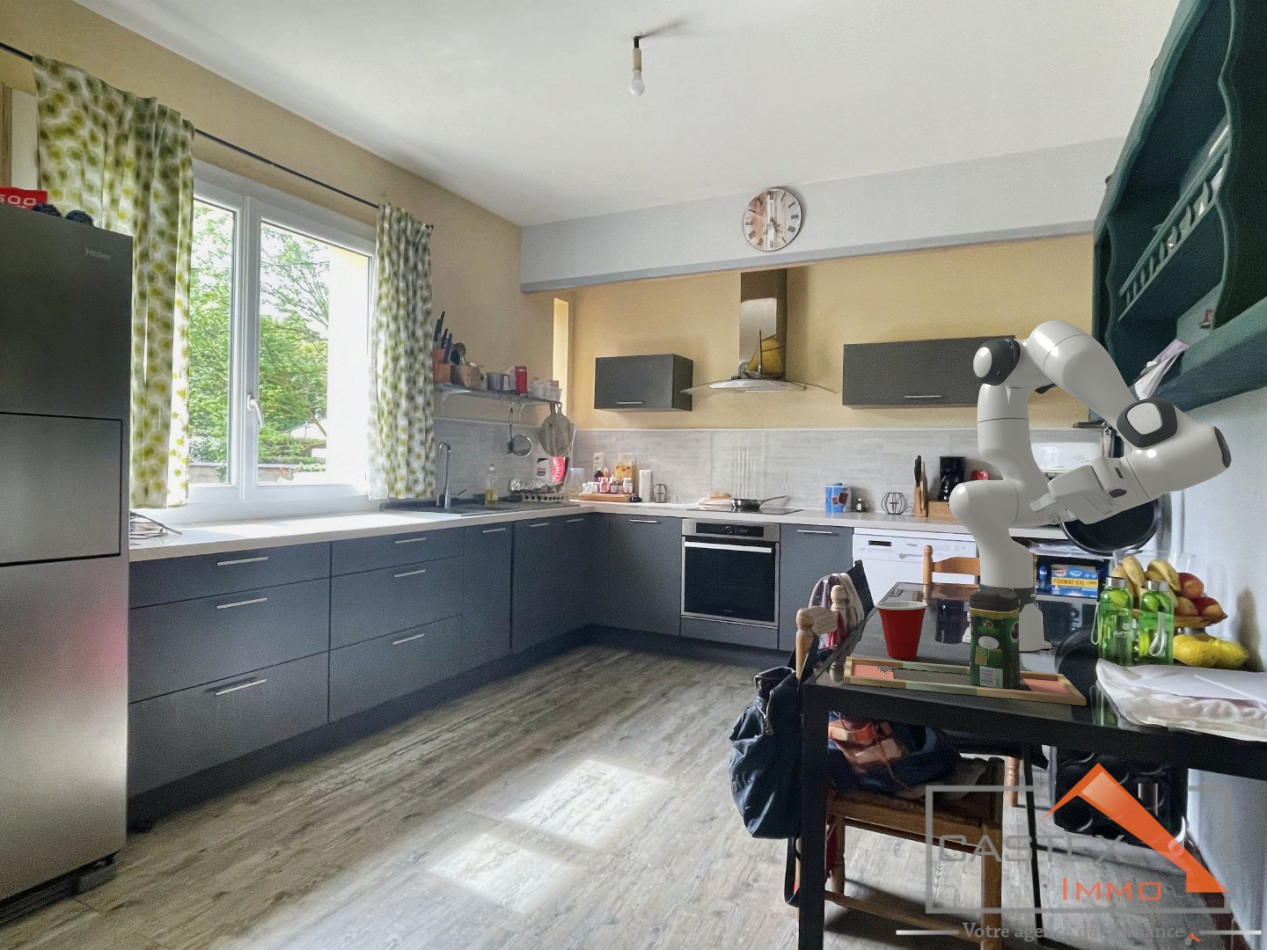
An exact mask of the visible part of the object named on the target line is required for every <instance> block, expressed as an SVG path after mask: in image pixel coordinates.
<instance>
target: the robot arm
mask: <svg viewBox="0 0 1267 950" xmlns="http://www.w3.org/2000/svg"><path fill="white" fill-rule="evenodd" d="M971 364H972V365H971V366H972V373H973V375H974V378H976V380H977V381H978V382H980V383H982V384H981V387H980V388H979V393H978V397H977V398H978V400H977V407H976V409H977V410H976V428H977V429H976V430H977V431H976V432H977V449H978V450H977V451H978V454H979V456H980V458H981V459H982V460H983V461H984V462H986V463H987V464H989V465H992V466H994V467H995V468H996V469H997V470H998V471H999V473H1000V474H1001V477H1002V479H998V480H997V479H976V480H971V481H966V482H961V483H958V484H957V485H955V486H954V488H953V489H952V491H951V492H950V495H949V497H948V498H949V499H948V507H949V511H950V513H951V515H952V517H953V518H954V519H955V520H956V522H958V523H959V524H960V525H962V526H963V527H965V529H967V531H968V532H969V533H970V535H971V536H972V538H973V540H974V542H975V544H976V547H977V549H978V557H979V569H980V572H979V573H980V582H979V583H978V585H977V586H978V587H977V591H981V590H984V589H988V588H989V587H1000V588H1009V589H1012V591H1014V592H1015V593H1016V594H1017V595H1018V596H1019V652H1035V651H1039V650H1044V649H1052V643H1051V642H1049V641H1047V640H1045V637H1044V620H1043V619H1044V617H1043V612H1042V611H1041V610H1040V609H1039V608H1038V607H1037V606H1036V604H1035V602H1036V596H1037V594H1036V587H1035V586H1034V557H1033V555H1032V553H1031V551H1030V550H1029V549H1028V548H1027V547H1026V546H1025V545H1023V544H1021V543H1020V542H1017V541H1015V540H1013V538H1012V536H1011V534H1010V530H1009V527H1041V526H1047V525H1053V526H1054V525H1057V524H1060V523H1066V522H1073V521H1076V520H1079V521H1080V522H1082V523H1083V524H1084V525H1090V524H1095V523H1097V522H1100V521H1103V520H1106V519H1108V518H1110V517H1112V516H1114V515H1116V514H1119V513H1121V512H1123V511H1127V510H1130V509H1133V508H1135V507H1138V506H1141V505H1143V504H1146V503H1149V502H1152V501H1155V500H1156V499H1158V498H1159V497H1161V496H1163V495H1165V494H1167V493H1172V492H1179V491H1180V492H1181V491H1182V490H1183V491H1184V490H1186V489H1188V488H1191V487H1194V486H1196V485H1200V484H1202V483H1204V482H1207V481H1209V480H1211V479H1213V478H1215V477H1217V476H1219V475H1221V474H1222V473H1224V472H1225V471H1227V470H1228V469H1229V468H1230V466H1231V463H1232V455H1231V450H1230V449H1229V445H1228V444H1227V441H1226V438H1225V436H1224V434H1223V433H1222V432H1221V430H1220V429H1219V428H1218V427H1217V426H1215V425H1212V424H1206V423H1203V422H1201V421H1198V420H1197V419H1194V418H1192V417H1191V416H1189V415H1187V414H1186V413H1185V412H1183V411H1182V410H1181V409H1179V408H1178V407H1177V406H1176V405H1174V404H1173V402H1171V401H1169V400H1168V399H1165V398H1160V397H1148V398H1147V397H1146V398H1143V399H1142V398H1141V399H1139V400H1137V399H1136V398H1135V396H1134V395H1133V394H1132V392H1131V391H1130V389H1129V387H1128V385H1127V383H1126V382H1125V380H1124V378H1123V376H1122V374H1121V371H1119V369H1118V367H1117V365H1116V363H1115V362H1114V359H1113V358H1112V356H1111V355H1110V354H1109V352H1108V351H1107V350H1106V349H1105V348H1104V346H1102V344H1101V343H1100V342H1099V341H1098V340H1096V339H1095V338H1094V337H1092V336H1091V335H1090V334H1088V333H1087V332H1085V330H1083V329H1080V328H1079V327H1077V326H1076V325H1073V324H1071V323H1068V322H1065V321H1063V320H1059V319H1055V320H1047V321H1045V322H1043V323H1041V324H1039V325H1038V326H1036V327H1035V328H1034V329H1033V330H1032V331H1031V332H1030V335H1029V336H1028V338H1020V339H1019V338H1012V337H1009V338H997V339H992V340H988V341H985V342H983V343H982V344H980V345H979V347H978V348H977V349H976V351H975V352H974V354H973V357H972V363H971ZM1056 387H1059V388H1060V389H1061V390H1063V392H1066V393H1067V394H1068V395H1069V396H1071V397H1073V398H1074V399H1076V400H1077V401H1078V402H1080V403H1081V404H1083V405H1084V406H1085V407H1087V408H1088V409H1090V410H1091V411H1092V412H1094V413H1096V415H1098V416H1099V417H1101V418H1102V419H1103V420H1104V421H1105V422H1106V423H1107V424H1109V425H1110V427H1112V428H1113V429H1114V431H1116V432H1117V434H1118V435H1119V437H1120V438H1121V440H1122V441H1123V443H1124V445H1125V446H1126V447H1127V449H1128V450H1129V451H1130V453H1129V454H1126V455H1124V456H1121V457H1119V458H1118V457H1108V456H1103V455H1101V456H1097V457H1094V458H1092V459H1091V460H1089V463H1090V464H1084V465H1081V466H1078V467H1075V468H1073V469H1071V470H1069V471H1066V472H1063V473H1062V474H1060V475H1058V476H1055V477H1054V478H1052V479H1049V478H1048V477H1047V476H1046V475H1045V474H1044V473H1043V471H1042V470H1041V469H1040V467H1039V465H1038V463H1037V462H1036V459H1035V457H1034V454H1033V449H1032V444H1031V433H1030V432H1031V431H1030V418H1029V417H1030V416H1029V409H1028V407H1029V405H1028V403H1029V398H1030V396H1031V394H1032V393H1033V392H1035V393H1037V394H1038V395H1043V394H1045V393H1047V392H1048V391H1050V390H1051V389H1053V388H1056ZM966 617H967V620H966V621H967V622H969V624H968V627H967V628H966V629H965V632H964V634H963V636H962V640H961V641H962V642H963V643H967V644H971V622H970V611H967V615H966Z"/></svg>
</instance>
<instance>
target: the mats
mask: <svg viewBox="0 0 1267 950" xmlns="http://www.w3.org/2000/svg"><path fill="white" fill-rule="evenodd" d="M877 668H878V667H877V666H869V665H857V664H852V671H851V675H853V676H865V677H876V678H887V679H895V678H894V676H895V675H894V671H893V672H892V671H891V670H890V671H891V672H889V670H888V671H887V672H885V673H884V672H883V671H881V670H880V668H878V669H879V670H878V669H877ZM880 671H881V672H880ZM886 673H887V674H886ZM1022 681H1023V682H1024V681H1025V682H1024V683H1025V685H1027V687H1028V688H1029V689H1030V690H1029V691H1033V692H1044V693H1055V694H1066V695H1070V694H1069V693H1068V692H1067V691H1066V690H1065V689H1064V688H1063V687H1062V685H1061V684H1060V683H1059V682H1058V681H1047V680H1035V679H1024V678H1023V679H1022Z"/></svg>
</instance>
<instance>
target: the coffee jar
mask: <svg viewBox="0 0 1267 950" xmlns="http://www.w3.org/2000/svg"><path fill="white" fill-rule="evenodd" d="M968 598H969V603H968V605H969V612H970V621H969V623H971V643H969V644H970V652H969V654H970V656H969V667H970V675H969V682H970V684H971V686H972V685H973V686H977V687H988V688H999V689H1010V690H1015V688H1017V687H1018V686H1019V684H1020V683H1021V679H1020V671H1021V665H1020V664H1021V663H1020V651H1019V596H1018V595H1017V594H1016V593H1015V592H1014V591H1012V589H1009V588H1000V587H989V588H988V589H984V590H981V591H978V590H977V591H975V592H973V593H970V594H969V597H968Z"/></svg>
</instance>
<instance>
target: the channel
mask: <svg viewBox="0 0 1267 950" xmlns="http://www.w3.org/2000/svg"><path fill="white" fill-rule="evenodd" d="M852 664H857V665H870V666H888V667H898V668H908V669H907V670H910V669H916V670H915V671H921V670H927V671H926V672H933V671H939V672H938V673H945V672H953V673H952V674H957V673H962V674H961V675H969V674H970V666H965V665H951V664H942V663H941V664H940V663H939V664H938V663H931V662H929V663H928V662H916V661H907V660H895V659H894V660H891V659H890V660H889V659H882V658H881V659H880V658H879V659H877V658H867V657H855V656H846V659H845V664H844V665H845V666H844V673H843V684H849V685H862V686H871V687H872V686H873V687H880V686H882V687H883V688H891V687H892V688H893V689H894V688H895V689H903V690H904V689H905V690H913V691H924V692H925V691H926V692H933V693H934V692H935V693H936V692H937V693H946V694H947V693H948V694H954V695H955V694H957V695H969V696H980V697H990V698H1001V699H1009V698H1011V699H1012V700H1021V701H1032V702H1033V701H1035V702H1042V703H1043V702H1044V703H1053V704H1055V703H1056V704H1064V705H1065V704H1066V705H1075V706H1076V705H1078V706H1085V705H1086V706H1087V697H1085V696H1084V695H1083V694H1082V693H1081V692H1080V691H1079V690H1078V689H1077V688H1076V686H1074V685H1073V684H1072V682H1070V680H1069V679H1068V678H1067V677H1066V676H1065V675H1064V674H1063V673H1052V672H1041V671H1040V672H1039V671H1029V670H1028V671H1027V670H1026V671H1025V670H1020V680H1023V678H1024V679H1035V680H1047V681H1058V682H1059V683H1060V684H1061V685H1062V687H1063V688H1064V689H1065V690H1066V691H1067V692H1068V693H1069V694H1070V695H1066V694H1055V693H1044V692H1033V691H1031V690H1021V689H1020V690H1019V689H1011V690H1010V689H999V688H988V687H978V686H975V685H973V686H972V685H965V684H953V683H952V684H951V683H941V682H933V681H932V682H929V681H918V680H908V679H897V678H896V679H895V678H894V679H887V678H876V677H865V676H853V675H851V671H852ZM898 668H897V669H898ZM917 669H918V670H917ZM882 687H881V688H882ZM892 688H891V689H892Z"/></svg>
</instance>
